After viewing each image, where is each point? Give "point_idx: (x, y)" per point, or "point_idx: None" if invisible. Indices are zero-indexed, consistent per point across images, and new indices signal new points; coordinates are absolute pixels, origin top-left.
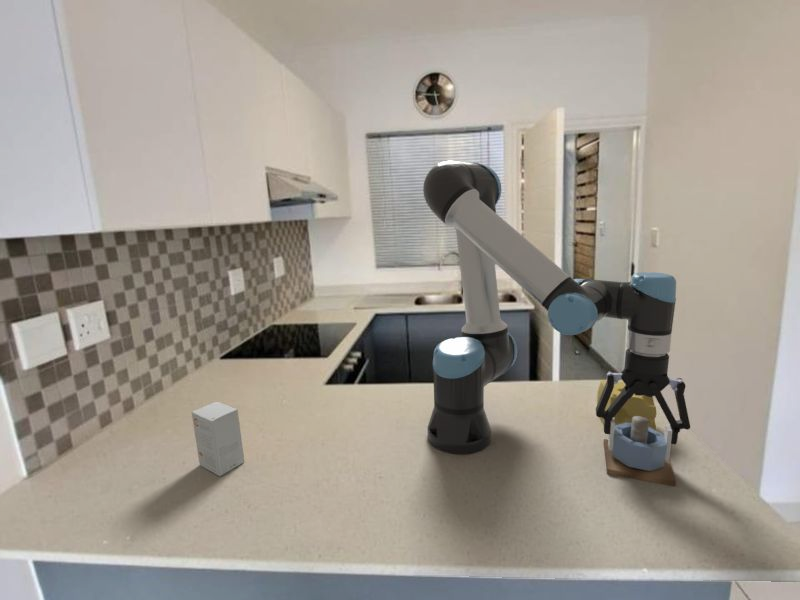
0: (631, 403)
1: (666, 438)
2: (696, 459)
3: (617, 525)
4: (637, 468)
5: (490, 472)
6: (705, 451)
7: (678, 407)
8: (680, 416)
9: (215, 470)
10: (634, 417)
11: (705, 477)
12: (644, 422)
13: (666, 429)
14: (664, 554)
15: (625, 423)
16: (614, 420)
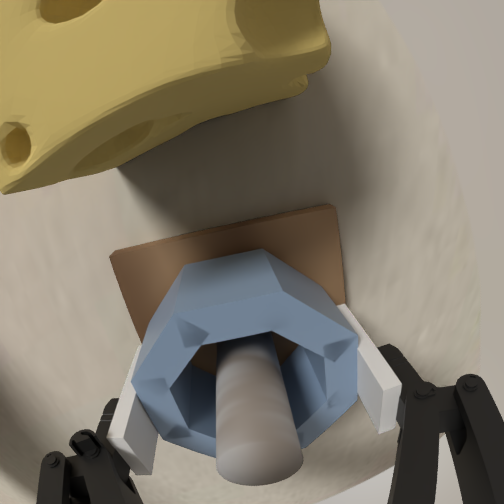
0: (155, 107)
1: (362, 395)
2: (418, 197)
3: (236, 495)
4: None
5: (22, 454)
6: (442, 128)
7: (472, 489)
8: (466, 421)
9: None
10: (226, 463)
11: (421, 291)
12: (280, 477)
13: (376, 407)
14: (300, 500)
15: (170, 331)
16: (139, 461)
